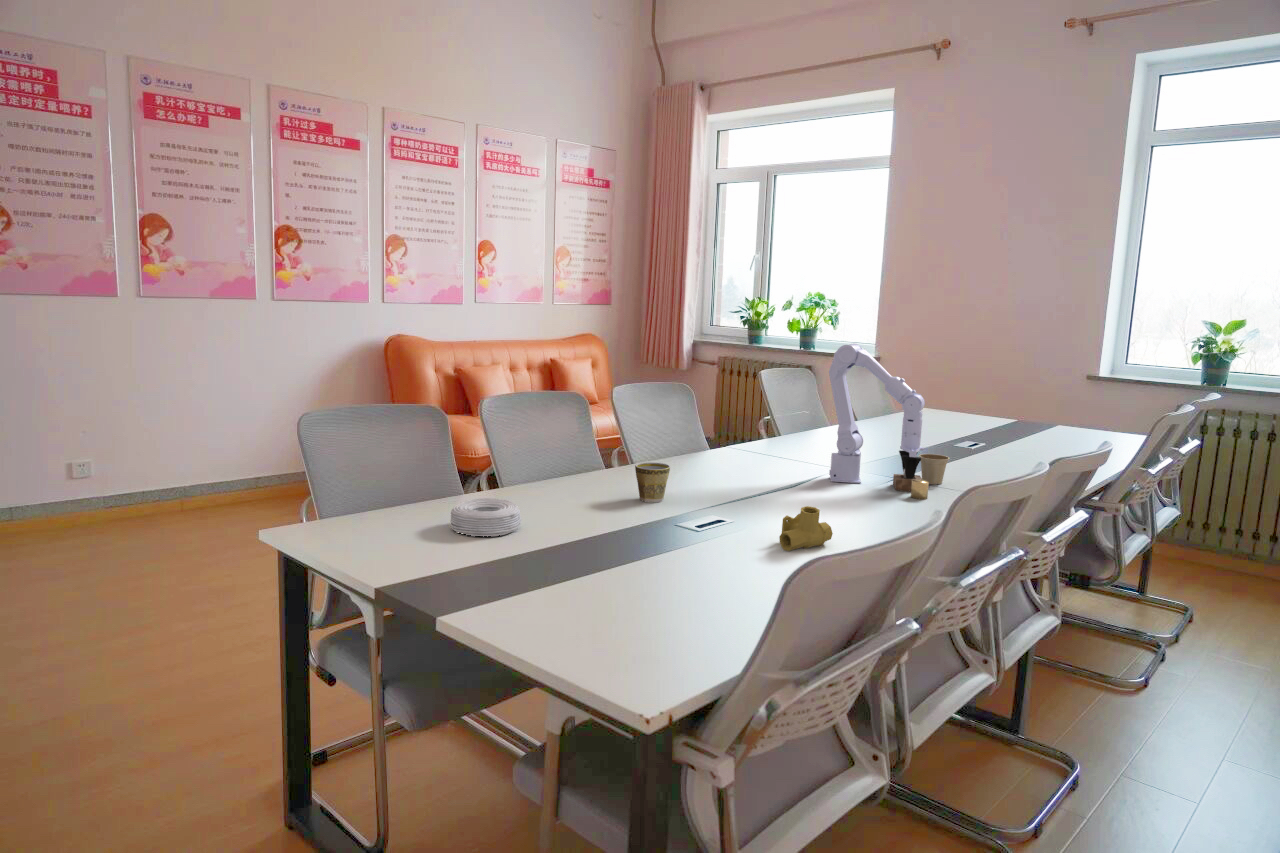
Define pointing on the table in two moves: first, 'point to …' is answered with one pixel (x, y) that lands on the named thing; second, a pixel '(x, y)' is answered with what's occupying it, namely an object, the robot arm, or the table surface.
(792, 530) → the tan pipe tee fitting
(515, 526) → the cable
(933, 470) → the flower pot
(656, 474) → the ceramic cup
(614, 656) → the table surface
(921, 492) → the round bit
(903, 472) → the square bit
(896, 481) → the block
